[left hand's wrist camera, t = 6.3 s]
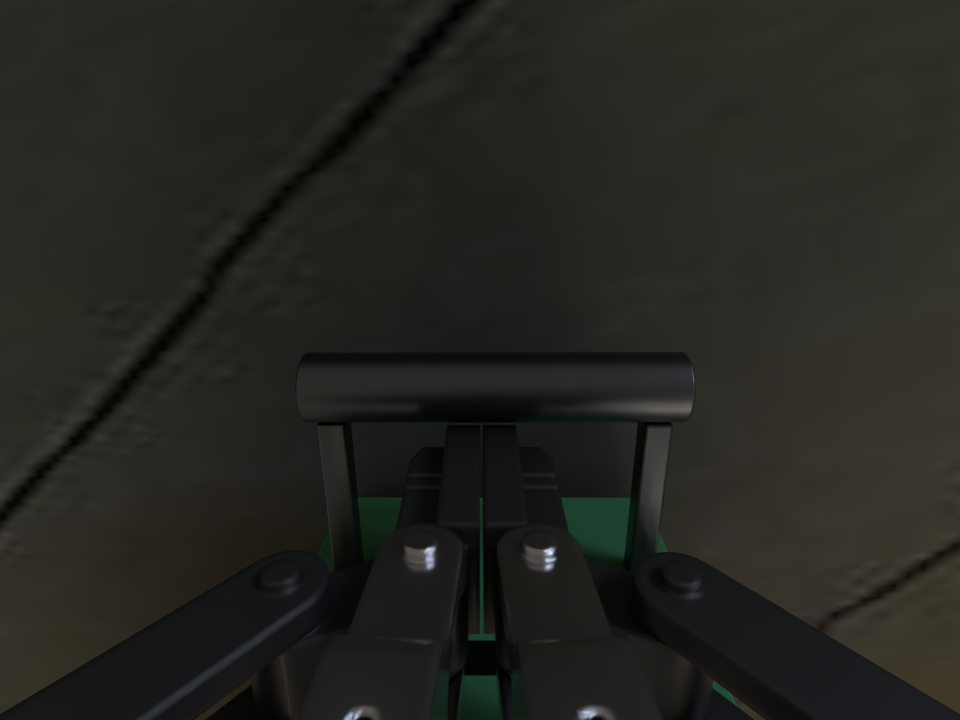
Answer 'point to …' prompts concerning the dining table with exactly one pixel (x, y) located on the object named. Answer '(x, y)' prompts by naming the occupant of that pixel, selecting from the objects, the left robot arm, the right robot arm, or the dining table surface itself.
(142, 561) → the dining table surface
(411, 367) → the drawer
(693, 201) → the dining table surface
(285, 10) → the dining table surface
